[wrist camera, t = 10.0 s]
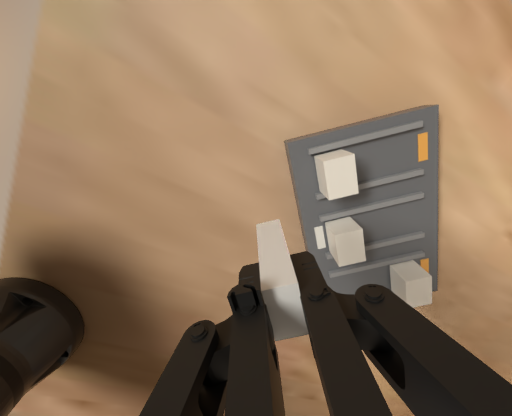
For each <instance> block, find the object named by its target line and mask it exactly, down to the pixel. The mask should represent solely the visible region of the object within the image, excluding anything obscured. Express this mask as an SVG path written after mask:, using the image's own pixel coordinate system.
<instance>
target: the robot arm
mask: <svg viewBox="0 0 512 416" xmlns="http://www.w3.org/2000/svg"><path fill="white" fill-rule="evenodd" d="M256 227H257V241H258V255H259V263H255V264H251V265H246V266H243V267H242V269H241V271H240V272H239V285H237V286H235V287H234V288H232V289H231V290H230V292H229V293H228V296H227V298H228V300H229V303H230V306H231V309H232V312H233V315H232V316H231V317H229V318H228V319H227V320H225V321H223V322H221V323H219V324H217V325H215V324H214V323H213V322H212V321H209V320H203V321H199V322H197V323H195V324H193V325H192V326H190V327H189V328H188V329H187V330H186V332H185V333H184V335H183V337H182V338H181V340H180V342H179V344H178V346H177V348H176V349H175V351H174V353H173V355H172V357H171V359H170V360H169V362H168V364H167V366H166V368H165V370H164V371H163V373H162V375H161V377H160V379H159V380H158V382H157V384H156V386H155V388H154V390H153V391H152V393H151V395H150V397H149V399H148V401H147V402H146V404H145V406H144V408H143V410H142V412H141V413H140V415H139V416H223V414H224V410H225V416H285V410H284V402H283V394H282V386H281V378H280V370H279V362H278V354H277V349H276V346H275V341H279V340H283V339H288V338H293V337H298V336H303V335H308V334H309V337H310V341H311V346H312V350H313V355H314V358H315V361H316V364H317V368H318V372H319V375H320V379H321V383H322V387H323V390H324V394H325V398H326V401H327V405H328V409H329V413H330V416H392V414H391V412H390V409H389V407H388V405H387V403H386V401H385V399H384V397H383V395H382V393H381V390H380V388H379V386H378V384H377V382H376V380H375V378H374V376H373V374H372V372H371V369H370V367H369V365H368V363H367V361H366V359H365V357H364V355H363V353H362V351H361V350H363V351H364V353H365V354H366V355H367V357H368V358H369V359H370V360H371V362H372V363H373V364H374V365H375V367H376V368H377V369H378V370H379V372H380V373H381V374H382V375H383V377H384V378H385V379H386V380H387V382H388V383H389V384H390V385H391V387H392V388H393V389H394V390H395V391H396V393H397V394H398V395H399V396H400V398H401V399H402V400H403V401H404V403H405V404H406V405H407V406H408V408H409V409H410V410H411V411H412V413H413V414H414V415H415V416H512V385H511V384H510V383H509V382H508V381H506V380H505V379H504V378H502V377H501V376H500V375H499V374H497V373H496V372H495V371H493V370H492V369H491V368H490V367H488V366H487V365H486V364H484V363H483V362H482V361H481V360H479V359H478V358H477V357H475V356H474V355H473V354H472V353H470V352H469V351H468V350H466V349H465V348H464V347H463V346H461V345H460V344H459V343H457V342H456V341H455V340H454V339H452V338H451V337H450V336H448V335H447V334H446V333H445V332H443V331H442V330H441V329H439V328H438V327H437V326H436V325H434V324H433V323H432V322H430V321H429V320H428V319H427V318H425V317H424V316H423V315H421V314H420V313H419V312H418V311H416V310H415V309H414V308H412V307H411V306H410V305H409V304H407V303H406V302H405V301H403V300H402V299H401V298H400V297H398V296H397V295H396V294H395V293H393V292H392V291H391V290H389V289H388V288H386V287H384V286H382V285H378V284H366V285H362V286H361V287H359V288H358V289H357V290H356V292H355V294H341V293H337V292H335V291H333V290H332V289H331V288H330V287H329V286H328V285H327V283H326V281H325V279H324V277H323V275H322V272H321V270H320V268H319V266H318V264H317V262H316V260H315V257H314V255H312V254H311V253H309V252H308V251H305V252H301V253H297V254H292V255H290V254H289V251H288V247H287V244H286V241H285V237H284V234H283V230H282V227H281V224H280V220H279V219H277V220H273V221H269V222H264V223H260V224H256ZM83 334H84V325H83V321H82V318H81V315H80V313H79V312H78V310H77V308H76V307H75V306H74V305H73V303H72V302H71V301H70V300H69V299H68V298H67V297H65V296H64V295H63V294H61V293H60V292H59V291H57V290H55V289H54V288H52V287H50V286H48V285H45V284H43V283H40V282H37V281H34V280H29V279H24V278H4V279H0V416H8V414H9V413H10V412H11V410H12V409H13V408H14V407H15V405H16V404H17V403H18V402H19V401H20V399H21V398H22V397H23V396H24V395H25V394H26V393H27V392H28V391H29V390H31V389H32V388H33V387H34V386H36V385H37V384H38V383H40V382H41V381H42V380H43V379H45V378H46V377H47V376H48V375H50V374H51V373H52V372H54V371H55V370H56V369H57V368H59V367H60V366H61V365H62V364H64V363H65V362H66V361H67V360H68V359H69V358H70V357H71V355H72V354H73V352H74V351H75V350H76V348H77V347H78V346H79V344H80V343H81V341H82V338H83ZM274 338H275V341H274Z"/></svg>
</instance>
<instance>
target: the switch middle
mask: <svg viewBox="0 0 512 416" xmlns="http://www.w3.org/2000/svg"><path fill="white" fill-rule="evenodd" d="M325 227H326V233H327V239H328V245H329V251H330V253H331V254H332V256H333V258H334V259H335V261H336V263H337V264H338V266H339V267H341V266H346V265H350V264H355V263H359V262H364V261H366V256H365V246H364V237H363V229H362V228H361V227H360V226H359V225H358V224H357V223H356V222H355V221H354V220H353V219H352V218H351V217H345V218H341V219H337V220H333V221H328V222H325Z"/></svg>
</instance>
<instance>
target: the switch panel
mask: <svg viewBox="0 0 512 416" xmlns="http://www.w3.org/2000/svg"><path fill="white" fill-rule="evenodd" d="M438 107H439V105H424V106H419V107H415V108H411V109H407V110H403V111H399V112H395V113H391V114H388V115H384V116H380V117H376V118H372V119H368V120H364V121H360V122H356V123H352V124H348V125H344V126H340V127H336V128H332V129H328V130H324V131H321V132H317V133H313V134H309V135H305V136H301V137H297V138H293V139H289V140H285V141H284V143H285V148H286V153H287V158H288V163H289V168H290V173H291V178H292V183H293V188H294V193H295V198H296V203H297V208H298V213H299V218H300V223H301V228H302V233H303V238H304V243H305V248H306V251H308V252H309V253H311V254H312V255H314V257H315V260H316V262H317V264H318V266H319V268H320V270H321V272H322V275H323V277H324V279H325V281H326V283H327V285H328V286H329V287H330V288H331V289H332V290H333V291H335V292H337V293H341V294H355V292H356V290H357V289H358V288H359V287H361V286H362V285H366V284H378V285H382V286H384V287H386V288H388V289H389V290H391V278H390V265H392V264H397V263H401V262H406V261H410V260H414V261H415V262H416V263H417V264H418V265H420V266H421V267H422V268H423V269H424V270H425V271H427V272H428V273H429V274H430V275H431V276H432V292H433V291H437V271H438ZM340 149H342V150H345V151H348V152H351V153H354V154H355V163H356V172H357V181H358V191H359V193H358V194H354V195H350V196H346V197H342V198H337V199H333V200H328V199H327V198H326V197H325V196H324V195H323V194H322V193H321V192H320V190H319V184H318V178H317V171H316V165H315V159H314V156H316V155H320V154H324V153H328V152H332V151H336V150H340ZM345 217H351V218H352V219H353V220H354V221H355V222H356V223H357V224H358V225H359V226H360V227H361V228H362V229H363V237H364V246H365V256H366V261H364V262H359V263H355V264H350V265H346V266H341V267H339V266H338V264H337V263H336V261H335V259H334V258H333V256H332V254H331V253H330V251H329V245H328V239H327V233H326V227H325V222H328V221H333V220H337V219H341V218H345ZM391 291H392V290H391Z"/></svg>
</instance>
